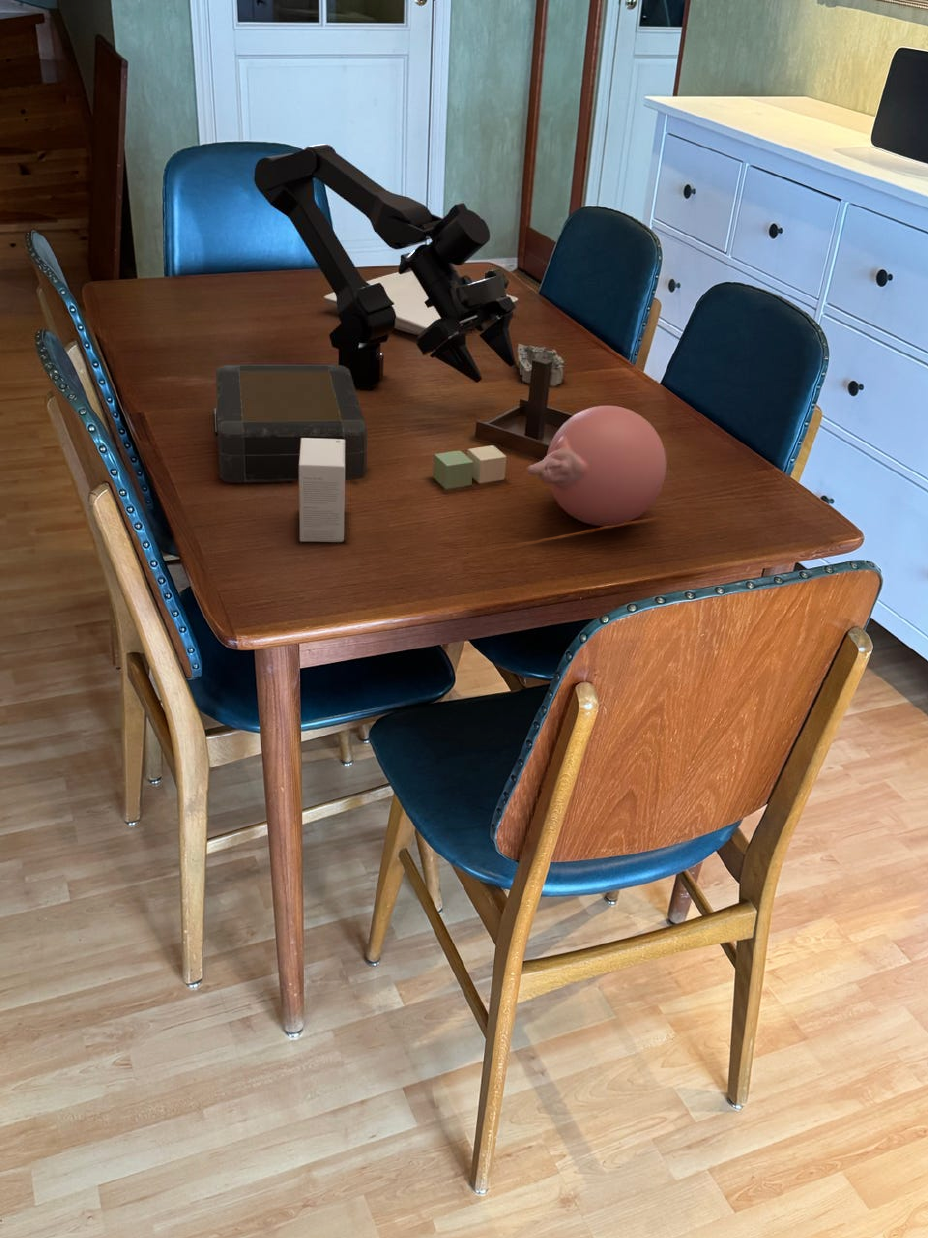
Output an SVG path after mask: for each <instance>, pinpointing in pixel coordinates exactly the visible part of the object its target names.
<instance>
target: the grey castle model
mask: <svg viewBox="0 0 928 1238" xmlns="http://www.w3.org/2000/svg"><path fill="white" fill-rule="evenodd" d="M517 355H518V358H517V365H516V366H517V368H518V369H519V374H520V376H521V380H522V382H523V383H526V384H529V385H530V377H531V367H532V360H533V359H535V358H537V357H541V358H544V359H547V360H551V361H552V369H551V378H550V386H552V387H555V386H557V385H560V384H562V382H563V377H564V369H563V368H564V367H565V360H564V359H563V358H562V357H561V356H559V355H558V354H557V351H556V350H555V349H553V348H552V349H551V350H547V348H546V346H545V347H544V346H543V347H539V346H533V345H528V346H527V345H524V344H521V343H518V345H517ZM550 386H549V387H550Z"/></svg>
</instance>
